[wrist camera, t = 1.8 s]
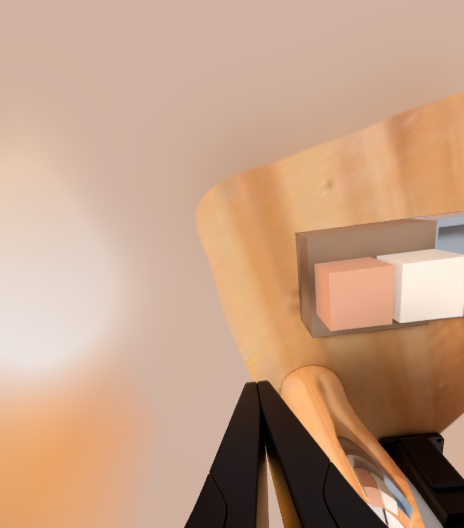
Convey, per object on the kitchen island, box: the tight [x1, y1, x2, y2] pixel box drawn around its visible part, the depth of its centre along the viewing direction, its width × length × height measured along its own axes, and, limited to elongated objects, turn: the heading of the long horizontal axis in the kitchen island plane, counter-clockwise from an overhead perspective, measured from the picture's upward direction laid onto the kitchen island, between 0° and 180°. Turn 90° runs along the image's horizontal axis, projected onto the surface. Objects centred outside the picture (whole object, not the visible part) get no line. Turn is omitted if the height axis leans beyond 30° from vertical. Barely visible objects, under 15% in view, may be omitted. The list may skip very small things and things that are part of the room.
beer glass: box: [281, 366, 444, 528], centre depth 15 cm, size 7×7×15 cm
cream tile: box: [377, 249, 464, 323], centre depth 15 cm, size 4×4×2 cm
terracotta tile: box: [314, 257, 395, 331], centre depth 15 cm, size 4×4×2 cm
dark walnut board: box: [296, 219, 437, 338], centre depth 18 cm, size 8×9×3 cm
